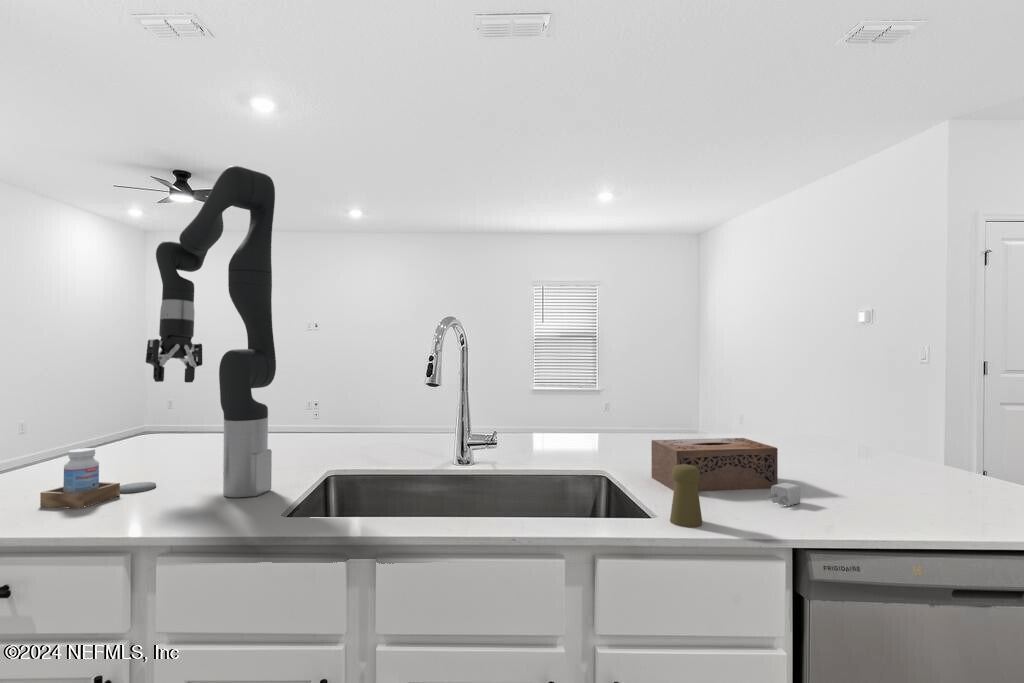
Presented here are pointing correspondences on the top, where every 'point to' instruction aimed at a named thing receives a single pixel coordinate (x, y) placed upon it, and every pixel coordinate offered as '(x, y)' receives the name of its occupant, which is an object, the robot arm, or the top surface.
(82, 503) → the wooden tray
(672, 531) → the top surface
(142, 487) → the slate coaster
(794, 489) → the usb wall charger
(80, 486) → the pill bottle
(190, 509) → the top surface
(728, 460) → the tissue box cover
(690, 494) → the cork
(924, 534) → the top surface
